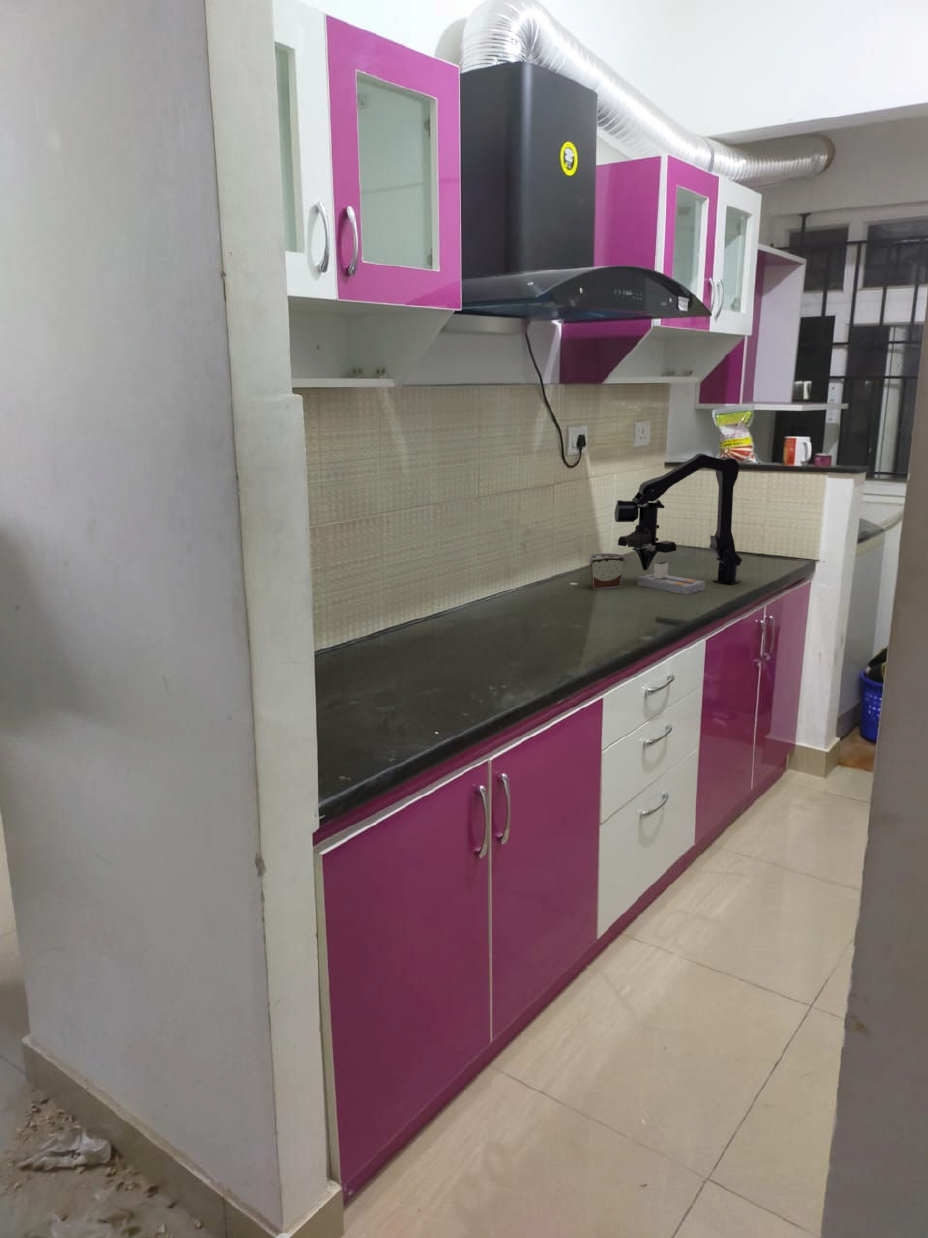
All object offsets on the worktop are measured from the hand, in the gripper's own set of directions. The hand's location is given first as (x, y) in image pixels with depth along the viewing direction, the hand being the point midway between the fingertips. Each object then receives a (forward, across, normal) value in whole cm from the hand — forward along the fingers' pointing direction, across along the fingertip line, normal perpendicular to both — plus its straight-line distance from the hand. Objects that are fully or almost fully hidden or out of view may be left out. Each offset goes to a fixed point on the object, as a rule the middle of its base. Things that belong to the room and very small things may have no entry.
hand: (645, 570), depth 294 cm
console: (+4, +10, 0) cm, 11 cm away
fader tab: (+1, +6, 0) cm, 6 cm away
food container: (+4, -6, -14) cm, 16 cm away
